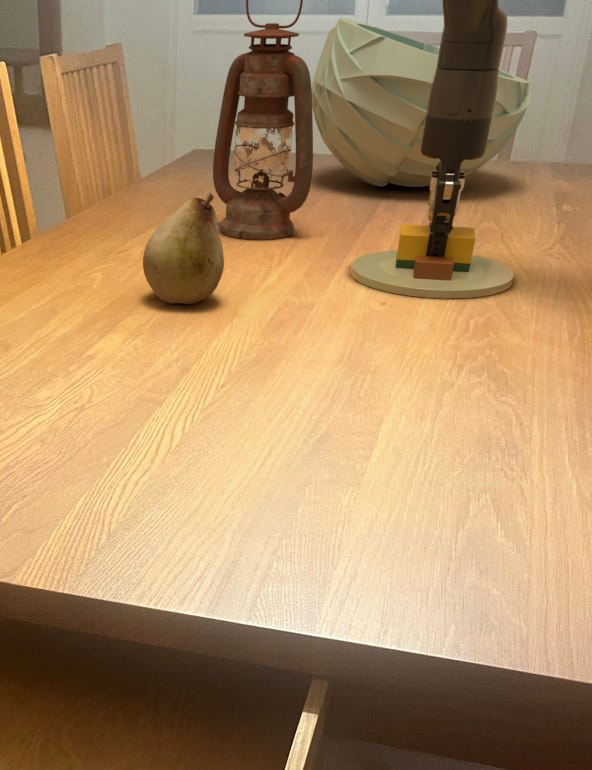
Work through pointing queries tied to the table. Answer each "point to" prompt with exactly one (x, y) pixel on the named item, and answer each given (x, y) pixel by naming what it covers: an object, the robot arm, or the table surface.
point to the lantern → (265, 110)
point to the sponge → (416, 244)
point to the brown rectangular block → (433, 268)
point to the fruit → (185, 254)
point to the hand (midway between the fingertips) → (433, 258)
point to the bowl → (392, 105)
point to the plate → (475, 283)
